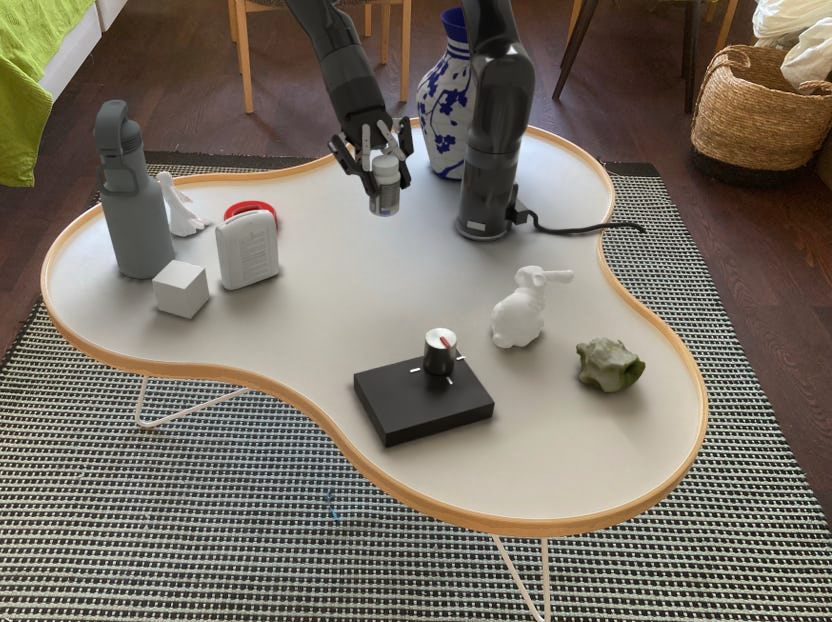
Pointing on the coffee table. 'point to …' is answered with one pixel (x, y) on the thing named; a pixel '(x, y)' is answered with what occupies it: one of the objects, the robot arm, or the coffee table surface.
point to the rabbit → (524, 307)
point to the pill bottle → (386, 186)
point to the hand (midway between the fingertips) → (391, 191)
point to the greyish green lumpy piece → (608, 365)
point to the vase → (448, 101)
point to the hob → (421, 399)
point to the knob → (439, 351)
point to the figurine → (179, 208)
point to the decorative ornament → (249, 209)
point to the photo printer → (247, 248)
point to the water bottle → (130, 195)
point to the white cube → (181, 288)
